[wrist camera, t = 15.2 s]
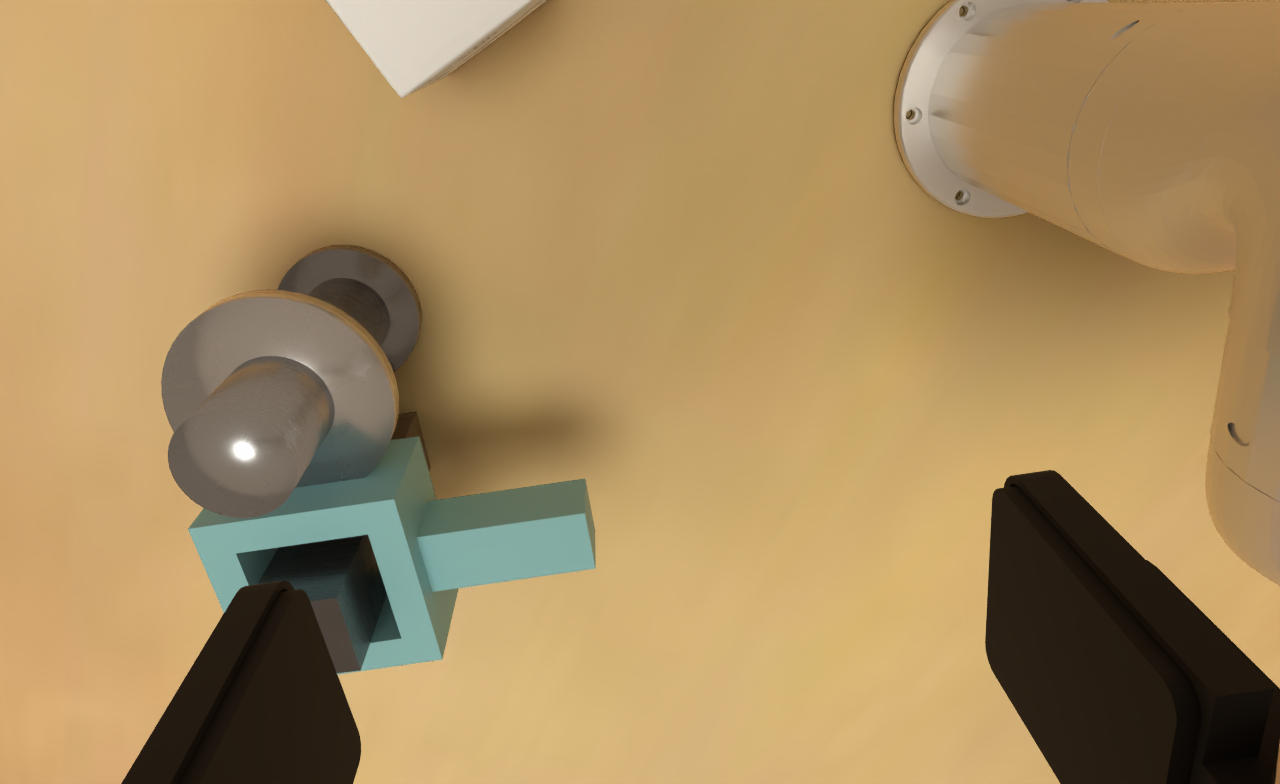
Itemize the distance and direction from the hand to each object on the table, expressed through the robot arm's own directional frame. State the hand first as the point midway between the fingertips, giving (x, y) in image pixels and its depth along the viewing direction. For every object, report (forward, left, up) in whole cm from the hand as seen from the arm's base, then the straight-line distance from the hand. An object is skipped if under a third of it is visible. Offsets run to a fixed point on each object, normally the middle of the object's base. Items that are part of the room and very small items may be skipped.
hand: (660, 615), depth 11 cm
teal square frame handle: (+12, +15, -29) cm, 35 cm away
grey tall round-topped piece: (+16, +7, -38) cm, 42 cm away
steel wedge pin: (+16, +15, -38) cm, 44 cm away
